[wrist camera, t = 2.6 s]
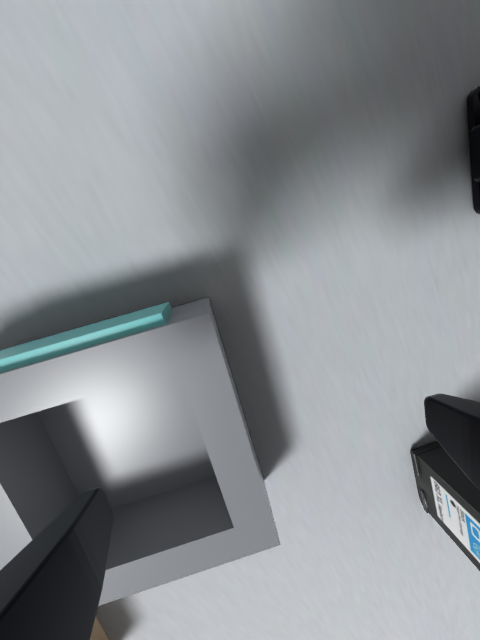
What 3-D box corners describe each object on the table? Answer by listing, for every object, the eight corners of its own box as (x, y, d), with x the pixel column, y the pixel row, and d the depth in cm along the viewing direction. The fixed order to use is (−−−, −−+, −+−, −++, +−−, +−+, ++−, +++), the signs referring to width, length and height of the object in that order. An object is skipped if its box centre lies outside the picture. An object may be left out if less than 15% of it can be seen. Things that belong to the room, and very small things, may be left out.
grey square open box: (205, 288, 17) (206, 302, 13) (264, 481, 20) (280, 544, 16) (-26, 355, 16) (-111, 393, 12) (73, 543, 20) (35, 627, 15)
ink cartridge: (407, 447, 21) (525, 559, 13) (437, 437, 21) (571, 541, 13) (418, 503, 22) (533, 636, 14) (447, 493, 22) (576, 619, 15)
